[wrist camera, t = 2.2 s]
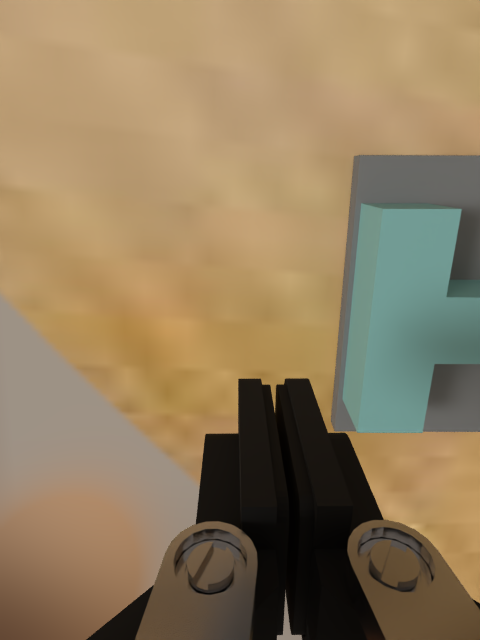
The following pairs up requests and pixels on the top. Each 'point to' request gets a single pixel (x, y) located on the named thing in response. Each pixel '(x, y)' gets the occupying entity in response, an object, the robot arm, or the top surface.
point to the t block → (405, 314)
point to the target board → (468, 264)
